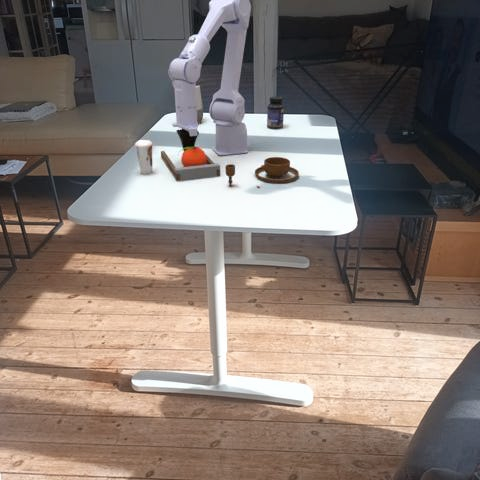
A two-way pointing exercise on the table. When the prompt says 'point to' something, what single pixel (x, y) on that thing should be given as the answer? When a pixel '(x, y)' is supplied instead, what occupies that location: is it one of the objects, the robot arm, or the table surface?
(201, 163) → the clementine
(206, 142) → the table surface
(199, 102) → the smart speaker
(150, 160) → the milkshake
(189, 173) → the stop bar
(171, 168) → the lane rails
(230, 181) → the place setting
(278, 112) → the pill bottle
